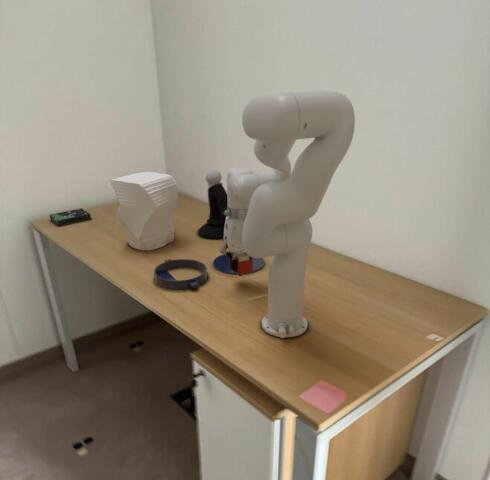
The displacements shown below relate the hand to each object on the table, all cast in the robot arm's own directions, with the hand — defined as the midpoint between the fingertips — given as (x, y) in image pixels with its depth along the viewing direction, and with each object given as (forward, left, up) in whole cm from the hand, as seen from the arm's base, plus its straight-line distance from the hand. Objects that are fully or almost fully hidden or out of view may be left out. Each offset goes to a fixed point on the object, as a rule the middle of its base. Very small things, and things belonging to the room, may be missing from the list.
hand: (240, 268), depth 146 cm
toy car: (0, 0, -1) cm, 1 cm away
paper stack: (+39, +33, -7) cm, 51 cm away
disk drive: (+67, +76, -7) cm, 101 cm away
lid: (+17, +1, -6) cm, 18 cm away
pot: (+6, +20, -6) cm, 22 cm away
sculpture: (+46, +8, -7) cm, 47 cm away
